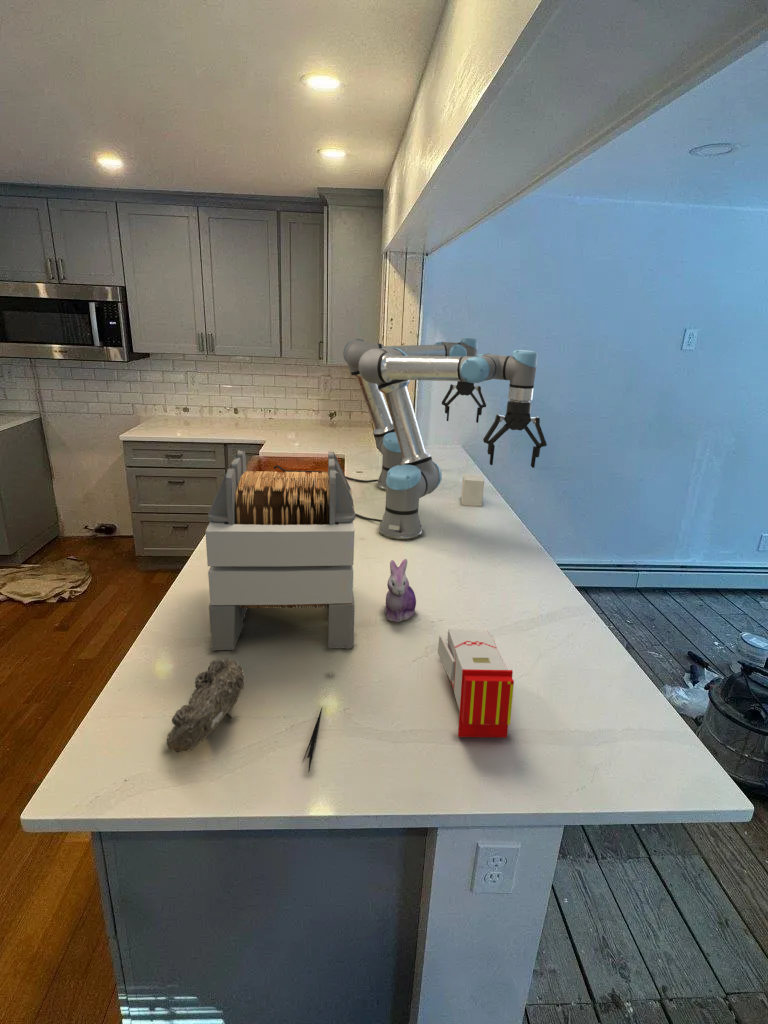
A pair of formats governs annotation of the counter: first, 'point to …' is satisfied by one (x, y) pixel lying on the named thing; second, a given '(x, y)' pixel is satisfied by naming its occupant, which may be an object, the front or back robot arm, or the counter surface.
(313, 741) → the feather
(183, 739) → the fossil
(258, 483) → the record crate
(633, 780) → the counter surface
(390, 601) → the figurine
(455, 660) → the toy
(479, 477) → the brick
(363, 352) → the back robot arm
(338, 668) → the counter surface
